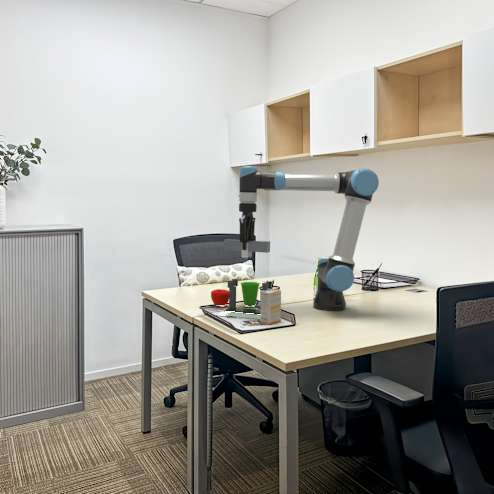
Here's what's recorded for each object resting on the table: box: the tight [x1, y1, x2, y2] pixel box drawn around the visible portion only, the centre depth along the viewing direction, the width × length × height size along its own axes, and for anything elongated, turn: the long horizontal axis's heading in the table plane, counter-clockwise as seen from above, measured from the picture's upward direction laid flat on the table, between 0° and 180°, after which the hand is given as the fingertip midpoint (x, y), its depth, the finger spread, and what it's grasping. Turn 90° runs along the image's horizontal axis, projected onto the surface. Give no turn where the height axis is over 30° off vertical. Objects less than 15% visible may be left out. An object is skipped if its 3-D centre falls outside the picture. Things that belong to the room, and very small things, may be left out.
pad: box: [226, 312, 261, 321], centre depth 215 cm, size 22×7×1 cm, turn 70°
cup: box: [240, 281, 261, 306], centre depth 235 cm, size 9×9×11 cm
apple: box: [210, 288, 229, 306], centre depth 235 cm, size 9×9×8 cm
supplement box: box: [259, 288, 282, 326], centre depth 204 cm, size 8×5×13 cm, turn 141°
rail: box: [223, 238, 271, 254], centre depth 217 cm, size 20×4×4 cm, turn 69°
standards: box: [224, 278, 273, 314], centre depth 222 cm, size 21×6×14 cm, turn 70°
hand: (246, 257), depth 218 cm, fingers closed on rail, 3 cm apart
